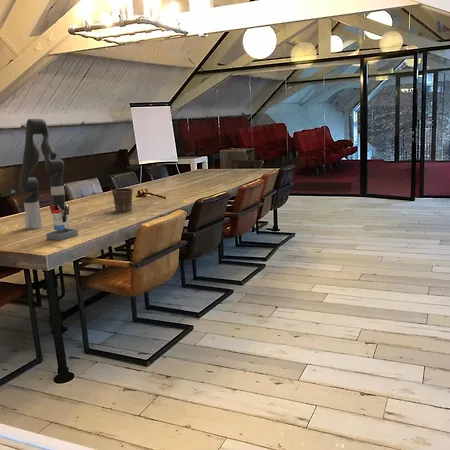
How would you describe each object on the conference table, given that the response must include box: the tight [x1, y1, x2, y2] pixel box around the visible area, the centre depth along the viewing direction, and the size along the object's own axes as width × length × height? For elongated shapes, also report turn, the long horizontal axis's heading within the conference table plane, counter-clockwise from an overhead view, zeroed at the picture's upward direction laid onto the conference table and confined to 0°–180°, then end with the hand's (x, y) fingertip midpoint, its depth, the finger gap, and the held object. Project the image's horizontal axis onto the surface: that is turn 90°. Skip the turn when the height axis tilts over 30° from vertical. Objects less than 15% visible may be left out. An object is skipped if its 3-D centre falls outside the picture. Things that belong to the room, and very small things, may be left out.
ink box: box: [51, 205, 71, 231], centre depth 291 cm, size 8×5×15 cm, turn 158°
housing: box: [46, 228, 79, 242], centre depth 293 cm, size 11×15×4 cm
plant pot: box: [111, 187, 134, 213], centre depth 373 cm, size 16×16×16 cm
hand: (61, 221), depth 292 cm, fingers closed on ink box, 5 cm apart
